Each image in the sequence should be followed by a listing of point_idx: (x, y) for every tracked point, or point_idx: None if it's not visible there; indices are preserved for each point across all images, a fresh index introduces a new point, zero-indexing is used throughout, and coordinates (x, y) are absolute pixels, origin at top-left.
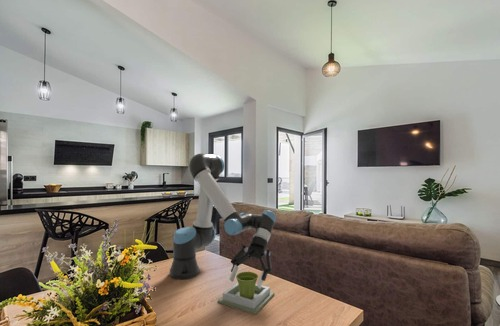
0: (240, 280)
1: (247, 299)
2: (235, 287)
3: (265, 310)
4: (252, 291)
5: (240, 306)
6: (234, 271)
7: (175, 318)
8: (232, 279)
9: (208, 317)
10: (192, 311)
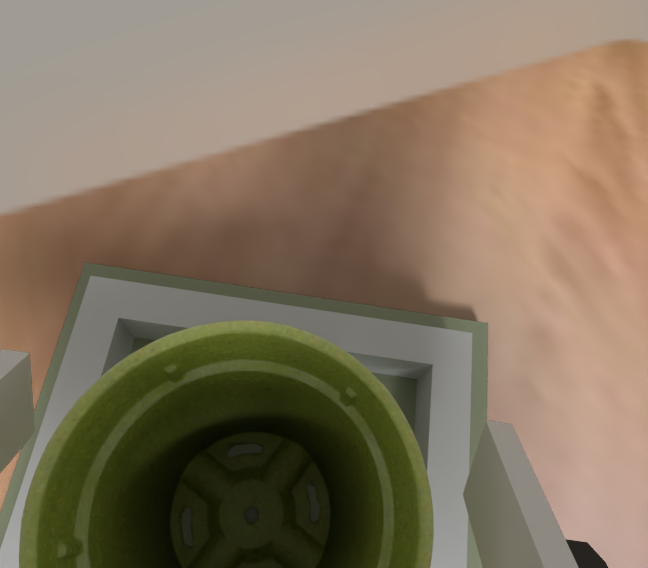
0: (285, 325)
1: (174, 309)
2: None
3: None
4: (154, 467)
5: (243, 296)
6: (518, 544)
7: (600, 72)
8: (476, 478)
9: (421, 136)
10: (567, 160)
